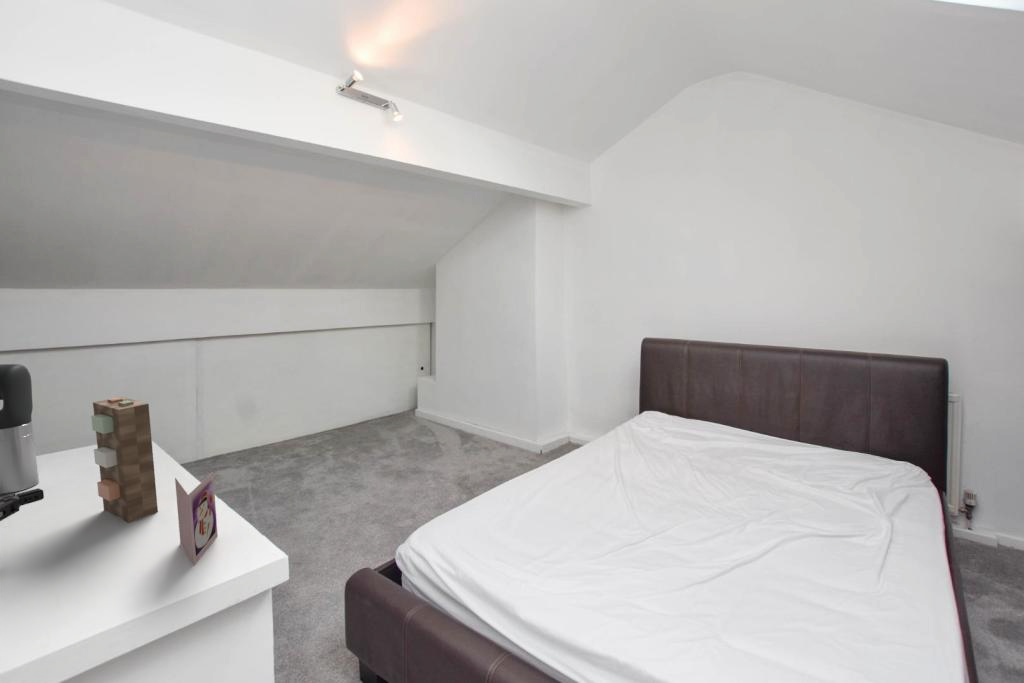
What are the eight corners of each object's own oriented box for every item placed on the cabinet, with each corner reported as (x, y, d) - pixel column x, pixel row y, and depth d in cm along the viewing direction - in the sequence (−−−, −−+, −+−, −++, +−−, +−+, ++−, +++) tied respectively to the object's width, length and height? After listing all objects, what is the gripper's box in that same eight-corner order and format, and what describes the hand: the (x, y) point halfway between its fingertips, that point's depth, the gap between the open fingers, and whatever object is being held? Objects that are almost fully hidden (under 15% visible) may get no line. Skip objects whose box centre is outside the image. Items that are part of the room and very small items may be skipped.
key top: (92, 430, 113) (91, 415, 112) (109, 426, 116) (107, 412, 115) (103, 433, 110) (102, 419, 110) (120, 430, 113) (119, 415, 113)
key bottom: (98, 496, 115) (97, 482, 114) (114, 490, 118) (113, 477, 117) (109, 501, 112) (108, 487, 112) (125, 495, 115) (124, 482, 115)
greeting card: (198, 566, 97) (193, 494, 95) (157, 569, 96) (150, 497, 94) (221, 535, 108) (217, 471, 106) (185, 538, 107) (179, 473, 105)
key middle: (95, 463, 114) (93, 449, 113) (111, 459, 116) (110, 445, 116) (106, 468, 111) (104, 453, 111) (122, 463, 114) (121, 449, 114)
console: (103, 510, 119) (92, 399, 115) (132, 500, 124) (122, 394, 120) (129, 522, 113) (118, 407, 109) (157, 511, 118) (148, 401, 115)
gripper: (-76, 517, 85) (54, 482, 100) (-98, 501, 91) (27, 470, 106) (-70, 558, 86) (57, 517, 101) (-93, 539, 92) (31, 503, 107)
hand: (41, 493), depth 103 cm, fingers closed
